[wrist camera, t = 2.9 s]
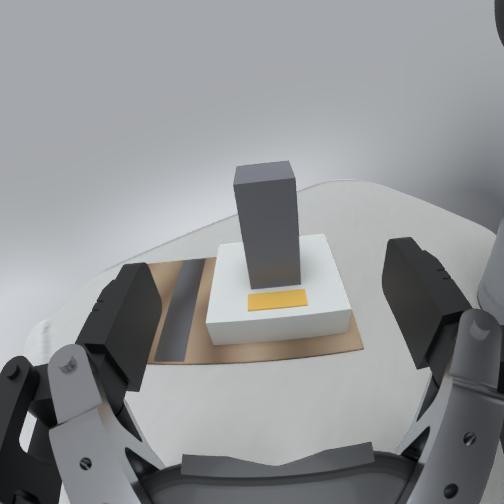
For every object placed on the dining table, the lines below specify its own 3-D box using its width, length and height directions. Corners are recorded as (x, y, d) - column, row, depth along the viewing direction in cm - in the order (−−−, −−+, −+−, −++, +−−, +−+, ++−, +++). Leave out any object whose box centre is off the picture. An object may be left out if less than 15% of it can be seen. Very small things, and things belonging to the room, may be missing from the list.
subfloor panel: (328, 249, 36) (328, 245, 36) (362, 352, 23) (363, 347, 23) (147, 267, 38) (145, 263, 38) (107, 364, 25) (104, 360, 24)
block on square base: (323, 255, 34) (321, 147, 27) (347, 332, 24) (361, 194, 17) (223, 265, 35) (201, 160, 28) (213, 345, 25) (171, 214, 18)
